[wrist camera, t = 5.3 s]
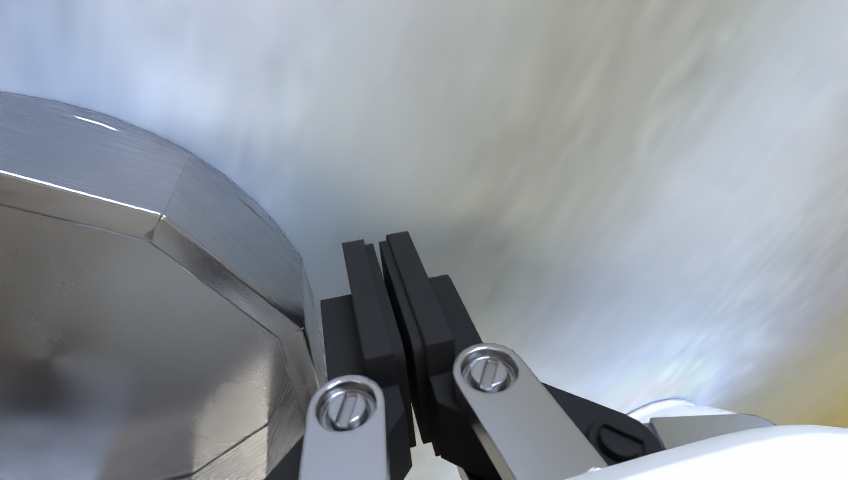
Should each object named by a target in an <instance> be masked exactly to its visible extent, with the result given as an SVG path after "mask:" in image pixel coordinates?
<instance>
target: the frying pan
mask: <svg viewBox="0 0 848 480" xmlns="http://www.w3.org/2000/svg"><path fill="white" fill-rule="evenodd" d="M325 383H326V375H325V364H324V353H323V348H322V343H321V339H320V335H319V331H318V326H317V322H316V318H315V310H314V303H313V296H312V292H311V289H310V286H309V283H308V280H307V277H306V274H305V270H304V266H303V262H302V258H301V257H300V255H299V254H298V253H297V252H296V251H295V250H294V249H293V247H292V246H291V244H290V243H289V242H288V240H287V239H286V237H285V236H284V234H283V233H282V232H281V230H280V229H279V227H278V226H277V225H276V223H275V222H274V221H273V220H272V219H271V218H270V217H269V216H268V215H267V213H266V212H265V211H264V210H263V209H262V208H261V207H260V206H259V205H258V204H257V203H256V202H255V201H254V200H253V198H251V197H250V196H249V195H248V194H247V193H245V192H244V191H243V190H242V189H241V188H239V187H238V186H237V185H236V184H235V183H233V182H232V181H231V180H230V179H229V178H227V177H226V176H225V175H224V174H222V173H221V172H219V171H218V170H216V169H215V168H213V167H211V166H210V165H208V164H207V163H205V162H204V161H202V160H201V159H199V158H198V157H196V156H195V155H193V154H192V153H190V152H188V151H186V150H184V149H182V148H180V147H178V146H177V145H175V144H173V143H171V142H169V141H167V140H165V139H163V138H161V137H159V136H157V135H155V134H153V133H151V132H149V131H146V130H144V129H141V128H139V127H136V126H133V125H131V124H128V123H126V122H123V121H121V120H118V119H116V118H113V117H110V116H108V115H105V114H101V113H98V112H94V111H91V110H87V109H84V108H80V107H76V106H73V105H69V104H66V103H62V102H59V101H54V100H49V99H43V98H37V97H31V96H26V95H20V94H14V93H9V92H2V91H0V480H264V479H265V478H266V477H267V475H268V474H269V473H270V472H271V471H272V470H273V469H274V467H275V466H276V465H277V464H278V463H279V462H280V461H281V460H282V458H283V457H284V456H285V455H286V454H287V453H288V452H289V450H290V449H291V448H292V447H293V446H294V445H295V444H296V443H297V441H298V440H299V439H300V438H301V437H302V436H303V435H304V432H305V425H306V417H307V410H308V406H309V403H310V400H311V398H312V397H313V396H314V394H315V393H316V391H317V390H318V389H319V388H320V387H322V386H323V385H324V384H325Z"/></svg>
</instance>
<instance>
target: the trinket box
mask: <svg viewBox="0 0 848 480" xmlns="http://www.w3.org/2000/svg"><path fill="white" fill-rule="evenodd" d="M721 414H738V413H735V412H732V411H727V410H723V409H718V408H713V407H705V406H695V405H694V404H693V403H691V402H689V401H687V400H682V399H670V400H664V401H659V402H655V403H652V404H649V405H646V406H644V407H642V408H639V409H637V410H635V411H633V412H631V413H630V414H628V416H630V417H632V418H634V419H636V420H638V421H640V422H641V423H649V421H650V418H653V417H676V416H699V415H721Z"/></svg>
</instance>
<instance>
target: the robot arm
mask: <svg viewBox="0 0 848 480" xmlns="http://www.w3.org/2000/svg"><path fill="white" fill-rule="evenodd" d="M342 246H343V252H344V257H345V262H346V267H347V273H348V278H349V283H350V288H351V293H352V294H350V295H345V296H340V297H335V298H330V299H326V300H321V314H322V324H323V334H324V345H325V355H326V365H327V375H328V382H327V383H325V384H324V385H323V386H322V387H320V388H319V389H318V390H317V391H316V393H315V394H314V396H313V397H312V398H311V400H310V403H309V406H308V410H307V417H306V425H305V432H304V435H303V436H302V437H301V438H300V439H299V440H298V441H297V443H296V444H295V445H294V446H293V447H292V448H291V449H290V450H289V452H288V453H287V454H286V455H285V456H284V457H283V458H282V460H281V461H280V462H279V463H278V464H277V465H276V466H275V467H274V469H273V470H272V471H271V472H270V473H269V474H268V475H267V477H266V478H265V479H264V480H404V478H405V477H406V475H407V473H408V472H409V470H410V469H411V467H412V459H411V452H410V448H411V447H415V446H416V439H415V431H414V423H413V415H412V407H413V410H414V414H415V417H416V421H417V424H418V428H419V432H420V435H421V439H422V442H423V444H426V443H430V442H432V445H433V449H434V452H435V455H436V456H440V455H441V458H443V459H445V460H447V461H449V462H451V463H453V464H455V465H457V469H458V472H459V475H460V478H461V479H462V480H848V428H840V427H830V426H819V425H776V424H774V423H773V422H771V421H770V420H767V419H764V418H761V417H759V416H756V415H750V414H721V415H699V416H676V417H653V418H650V421H649V423H641V422H640V421H638V420H636V419H634V418H632V417H630V416H628V415H626V414H623V413H620V412H618V411H615V410H612V409H610V408H607V407H605V406H602V405H599V404H597V403H594V402H591V401H589V400H586V399H584V398H581V397H578V396H576V395H573V394H571V393H568V392H565V391H563V390H560V389H557V388H555V387H552V386H550V385H547V384H544V383H542V382H540V381H539V379H538V378H537V377H536V376H535V375H534V373H533V372H532V371H531V370H530V368H529V367H528V366H527V365H526V363H525V362H524V361H523V360H522V359H521V357H520V356H519V355H517V354H516V353H515V352H514V351H513V350H511V349H509V348H507V347H505V346H503V345H498V344H494V343H483V342H482V340H481V338H480V336H479V334H478V332H477V330H476V328H475V326H474V324H473V322H472V320H471V318H470V316H469V314H468V312H467V310H466V308H465V306H464V304H463V302H462V300H461V298H460V296H459V294H458V292H457V290H456V288H455V286H454V284H453V282H452V280H451V279H450V277H449V276H448V275H442V276H437V277H432V278H428V277H427V274H426V272H425V270H424V267H423V265H422V263H421V260H420V258H419V256H418V254H417V251H416V249H415V247H414V244H413V242H412V240H411V237H410V235H409V233H408V231H405V232H400V233H395V234H389V235H386V241H383V242H379V247H380V255H381V262H382V269H383V276H384V279H383V276H382V273H381V269H380V266H379V262H378V259H377V256H376V252H375V249H374V246H373V243H372V244H367V245H365V244H364V240H357V241H352V242H347V243H342ZM411 403H412V407H411Z"/></svg>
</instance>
